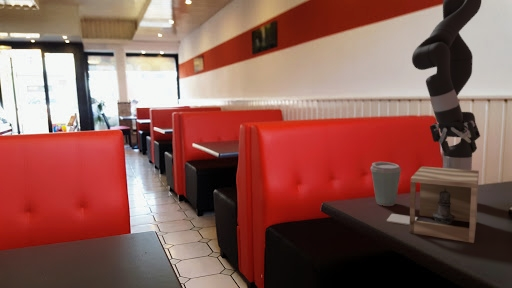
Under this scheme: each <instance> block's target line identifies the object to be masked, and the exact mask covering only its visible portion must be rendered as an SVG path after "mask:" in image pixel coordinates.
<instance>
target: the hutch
mask: <svg viewBox="0 0 512 288" xmlns="http://www.w3.org/2000/svg"><path fill="white" fill-rule="evenodd" d="M479 173H480V171H479V170H474V169H472V170H463V169H448V168H443V167H432V166H421V167H419V168H418V169H417V171H416V172H414V174H413V175H412V176H411V177H410V197H409V216H410V225H409V230H408V231H409V232H408V233H410V234H414V235H422V236H430V237H434V238H442V239H447V240H454V241H461V242H465V243H466V242H467V243H472V244H474V243H475V236H476V230H477V229H476V227H477V226H476V225H477V214H478V212H477V211H478V196H479V194H478V193H479V176H480V175H479ZM417 183H419V186H420V187H419V216H422V217H429V218H434V216H433V214H434V213H437V212H438V210H439V204H438V202H439V194H440V192H441V191H444V189H446V191H447V192H449V193H450V203H451V205H450V213H451V214H452V215H454V216H455V218H454V220H453V221H457V222H458V221H459V222H464V223H465V222H466V223H469V227H464V226H457V225H451V224H449V225H444V224H437V222H429V221H422V220H421V221H420V220H415V217H416V196H417V195H416V193H417V192H416V191H417Z"/></svg>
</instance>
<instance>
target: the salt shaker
mask: <svg viewBox="0 0 512 288" xmlns="http://www.w3.org/2000/svg"><path fill="white" fill-rule="evenodd" d="M438 204H439V210H438V212H437V213H434V214H433V216H434V217H433V219H434V220H435V223H437V224H444V225H451V224H453V222H454V221H455V220H454V218H455V216H454V215H452V214H451V213H450V205H451V203H450V193H449V192H447V191H446V189H444V191H441V192H440V194H439V202H438Z"/></svg>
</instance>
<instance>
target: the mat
mask: <svg viewBox="0 0 512 288" xmlns="http://www.w3.org/2000/svg"><path fill="white" fill-rule="evenodd" d="M418 217H419V216H415V220H416V221H418ZM386 223H393V224H398V225H400V224H401V225H406V226H410V215H405V214H397V213H391V214H390V215H389V217H388V218H387V219H386Z"/></svg>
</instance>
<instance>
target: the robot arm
mask: <svg viewBox="0 0 512 288" xmlns="http://www.w3.org/2000/svg"><path fill="white" fill-rule="evenodd" d="M481 5H482V0H442V18H443V19H442V20H441V21H440V22H438V24H436V25H435V27H434V29H433V30H432V32H431V33H430V34H429V37H427V38H426V39H424V40H423V41H422V42H421V43H420V44H419V45H417V47H416V48H415V49H414V51H413V53H412V56H411V62H412V65H413V67H414V68H415V69H417V70H420V71H425V70H429V69H433V68H436V73H434V74H432V75H430V76H428V77H427V78H426V80H425V85H426V88H427V91H428V94H429V98H430V104H431V107H432V111H433V113H434V116H435V119H436V120H435V121H436V122H434V123H432V124H431V125H430V126H429V128H430V132H431V137H432V140H433V142H434V143H436V142H437V143H438V144H440V147H441V149H442V152H443V153H442V154H443V157H442V168H448V169H463V170H473V166H472V164H473V154H474V153H475V152H476V150H477V148H478V147H477V144H476V141H477V140H478V139H479V138H480V137H481V134H480V131H479V129H478V126H477V125H478V124H477V123H476V117H475V114H474V113H473V112H471V111H462V108H461V105H460V101H459V98H458V95H460V93H461V92H462V90H463V88H464V87H465V86H466V85H467V83H468V81H469V80H470V78H471V77H472V74H473V59H474V58H473V52H472V51H471V49H470V47H469V46H468V44H467V43H466V42H465V40H464V39H463V38H462V36H461V35H460V31H461V30H462V29H463V28H464V27H465V26H466V25H467V24H468V23H469V22H470V21H471V20H472V19H473V18H474V17H475V16H476V15H477V13H478V12H479V11H480V8H481V7H482V6H481ZM448 138H460V140H459V141H458V143H456V144H454V145H450V146H449V142H448V140H447V139H448Z"/></svg>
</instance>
